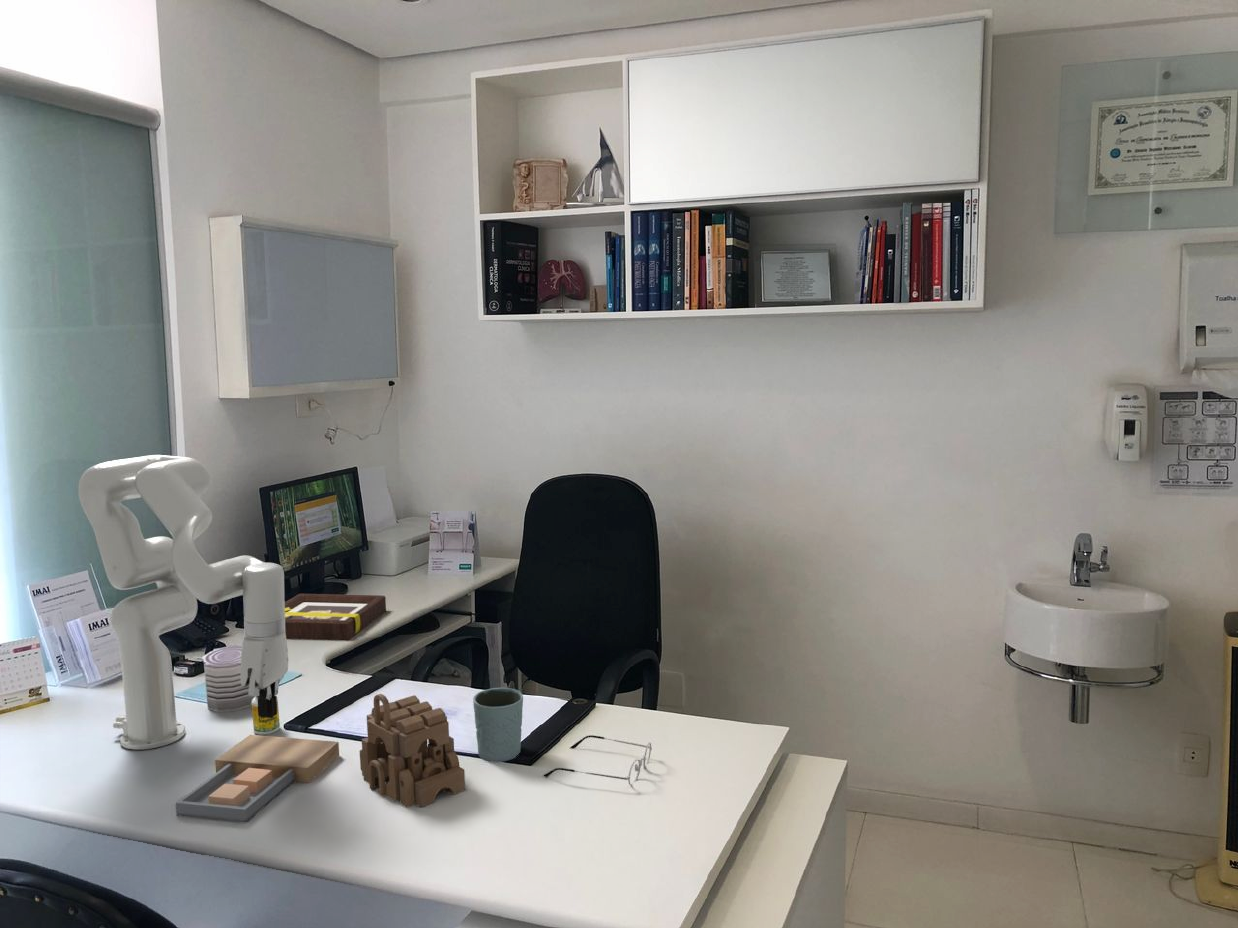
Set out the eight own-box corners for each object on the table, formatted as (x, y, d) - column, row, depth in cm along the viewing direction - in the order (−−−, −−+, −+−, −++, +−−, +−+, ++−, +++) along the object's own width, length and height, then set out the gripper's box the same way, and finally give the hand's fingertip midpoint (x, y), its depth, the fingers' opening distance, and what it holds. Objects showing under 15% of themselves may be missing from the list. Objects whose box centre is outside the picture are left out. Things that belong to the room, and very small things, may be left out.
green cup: (498, 738, 206) (496, 683, 205) (535, 749, 200) (533, 693, 199) (464, 756, 198) (462, 699, 196) (502, 768, 192) (499, 710, 191)
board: (215, 774, 192) (214, 759, 192) (251, 748, 204) (250, 734, 203) (308, 782, 188) (307, 767, 187) (339, 755, 199) (338, 741, 199)
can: (267, 694, 233) (264, 646, 232) (241, 713, 222) (237, 662, 221) (224, 692, 235) (220, 644, 234) (195, 710, 224) (191, 660, 223)
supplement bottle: (276, 723, 216) (273, 681, 215) (282, 731, 212) (279, 688, 211) (251, 729, 213) (247, 686, 212) (257, 737, 209) (253, 694, 208)
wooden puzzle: (474, 787, 185) (470, 692, 182) (407, 814, 175) (401, 715, 173) (413, 751, 201) (408, 664, 198) (348, 774, 191) (342, 683, 189)
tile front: (224, 783, 182) (225, 794, 182) (208, 796, 177) (209, 807, 178) (248, 785, 181) (249, 796, 181) (232, 798, 176) (233, 809, 177)
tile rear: (233, 790, 184) (232, 779, 184) (249, 778, 189) (248, 767, 189) (257, 792, 183) (256, 781, 183) (272, 780, 188) (271, 769, 187)
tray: (176, 815, 176) (175, 802, 176) (229, 775, 191) (228, 763, 191) (246, 822, 173) (245, 809, 173) (294, 781, 188) (293, 769, 188)
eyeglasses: (632, 795, 181) (631, 770, 180) (540, 781, 188) (539, 756, 187) (658, 759, 196) (658, 735, 195) (572, 747, 202) (572, 724, 202)
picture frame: (349, 618, 272) (247, 616, 276) (350, 641, 273) (249, 638, 277) (387, 591, 299) (294, 589, 304) (388, 613, 300) (295, 610, 305)
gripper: (268, 613, 199) (271, 698, 202) (224, 637, 184) (228, 729, 187) (302, 616, 197) (304, 702, 200) (260, 641, 183) (263, 733, 186)
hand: (267, 715), depth 194 cm, fingers closed
